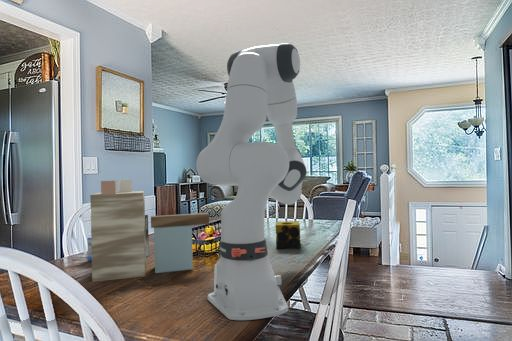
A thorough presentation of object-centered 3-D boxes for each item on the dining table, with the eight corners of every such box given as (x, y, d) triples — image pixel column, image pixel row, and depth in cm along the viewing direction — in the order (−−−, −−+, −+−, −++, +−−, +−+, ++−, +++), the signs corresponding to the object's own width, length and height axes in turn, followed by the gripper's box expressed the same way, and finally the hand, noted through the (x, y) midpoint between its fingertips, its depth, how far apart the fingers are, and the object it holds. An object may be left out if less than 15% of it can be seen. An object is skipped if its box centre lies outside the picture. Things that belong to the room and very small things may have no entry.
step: (192, 269, 114) (191, 226, 114) (155, 273, 111) (154, 228, 111) (190, 263, 122) (189, 223, 122) (155, 266, 118) (154, 225, 118)
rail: (209, 224, 118) (208, 213, 118) (151, 227, 113) (150, 217, 113) (207, 222, 121) (207, 212, 121) (151, 226, 116) (150, 216, 116)
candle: (300, 244, 150) (299, 221, 150) (301, 249, 140) (300, 224, 140) (276, 244, 151) (276, 221, 151) (276, 249, 141) (275, 224, 141)
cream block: (132, 191, 116) (132, 179, 116) (120, 192, 114) (120, 180, 114) (130, 191, 119) (129, 179, 119) (118, 192, 117) (118, 180, 117)
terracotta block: (115, 193, 105) (115, 180, 105) (101, 194, 104) (100, 181, 104) (116, 193, 109) (116, 180, 109) (103, 193, 108) (102, 180, 108)
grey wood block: (145, 276, 107) (143, 192, 108) (92, 281, 103) (90, 194, 103) (146, 265, 120) (144, 190, 120) (99, 270, 116) (97, 192, 116)
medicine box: (87, 260, 129) (86, 237, 129) (97, 258, 133) (97, 235, 133) (101, 263, 126) (100, 239, 126) (111, 260, 130) (111, 237, 130)
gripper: (255, 170, 136) (225, 153, 132) (273, 169, 116) (237, 149, 113) (248, 184, 135) (217, 167, 131) (264, 186, 115) (228, 166, 112)
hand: (227, 159), depth 122 cm, fingers open, 8 cm apart
